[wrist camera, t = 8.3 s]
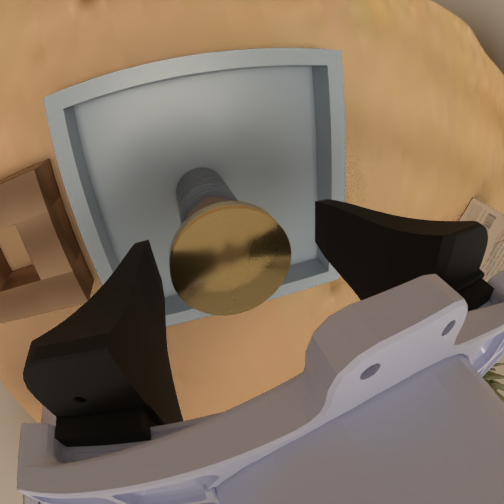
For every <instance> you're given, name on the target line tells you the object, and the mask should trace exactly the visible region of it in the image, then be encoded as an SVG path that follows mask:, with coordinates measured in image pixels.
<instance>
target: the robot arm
mask: <svg viewBox="0 0 504 504" xmlns="http://www.w3.org/2000/svg"><path fill="white" fill-rule="evenodd" d="M315 243H316V244H317V246H318V247H319V249H320V251H321V252H322V254H323V255H324V257H325V258H326V259H327V260H328V262H329V263H330V264H331V265H332V266H333V267H334V269H335V270H336V271H337V272H338V273H339V274H340V275H341V276H342V278H343V279H344V280H345V281H346V282H347V283H348V284H349V286H350V287H351V288H352V289H353V290H354V292H355V293H356V294H357V295H358V297H359V298H360V300H361V301H359V302H356V303H353V304H351V305H348V306H346V307H344V308H343V309H341V310H339V311H337V312H336V313H334V314H332V315H330V316H329V317H328V318H327V319H326V320H325V321H324V322H323V323H322V324H321V325H320V326H319V327H318V328H317V329H316V330H315V331H314V333H313V335H312V337H311V340H310V342H309V345H308V347H307V350H306V354H305V368H304V371H303V372H302V373H300V374H298V375H297V376H295V377H293V378H291V379H289V380H288V381H286V382H284V383H282V384H280V385H278V386H276V387H274V388H272V389H271V390H269V391H267V392H265V393H263V394H261V395H259V396H257V397H255V398H253V399H251V400H248V401H246V402H244V403H242V404H240V405H238V406H236V407H234V408H231V409H229V410H227V411H225V412H221V413H217V414H213V415H209V416H205V417H200V418H196V419H191V420H186V421H183V418H182V415H181V411H180V407H179V403H178V399H177V395H176V391H175V387H174V382H173V378H172V373H171V368H170V363H169V357H168V351H167V341H166V315H165V297H164V290H163V284H162V279H161V276H160V273H159V270H158V267H157V264H156V261H155V258H154V255H153V252H152V248H151V245H150V242H149V240H145V241H141V242H137V243H134V245H133V246H132V247H131V248H130V250H129V251H128V253H127V254H126V256H125V257H124V258H123V260H122V261H121V263H120V264H119V265H118V267H117V268H116V269H115V271H114V272H113V273H112V274H111V276H110V277H109V278H108V280H107V281H106V282H105V283H104V285H103V286H102V287H101V288H100V289H99V290H98V291H97V292H96V293H95V294H94V295H93V296H92V297H91V298H90V299H89V300H88V301H87V302H86V303H85V304H84V305H83V306H81V307H80V308H79V309H78V310H77V311H76V312H75V313H74V314H72V315H71V316H70V317H68V318H67V319H66V320H64V321H63V322H62V323H60V324H59V325H58V326H56V327H55V328H53V329H52V330H50V331H48V332H47V333H45V334H43V335H42V336H40V337H38V338H37V339H35V340H33V341H32V342H31V346H30V349H29V352H28V356H27V360H26V363H25V367H24V371H23V379H24V382H25V384H26V386H27V388H28V389H29V391H30V392H31V393H32V394H33V395H34V397H35V398H36V399H37V400H39V401H40V402H41V403H42V404H43V411H42V419H41V423H23V424H22V425H21V432H20V441H19V452H18V468H17V490H18V491H19V492H20V493H22V494H23V504H504V403H503V402H502V400H501V399H500V398H499V397H498V395H497V394H496V393H495V392H494V390H493V389H492V388H491V387H490V386H489V384H488V383H487V382H486V381H485V380H484V378H483V376H484V375H485V374H486V373H487V372H488V371H489V370H490V369H491V367H492V366H493V365H494V364H495V363H496V362H497V361H498V360H499V359H500V358H501V357H502V356H503V355H504V271H503V270H501V271H499V272H498V273H497V274H495V275H494V276H492V277H491V278H490V279H489V281H488V282H486V281H485V280H484V279H482V278H483V277H484V275H485V274H484V272H483V271H481V270H480V266H481V263H482V260H483V257H484V254H485V251H486V247H487V243H488V232H487V229H486V227H485V226H483V225H482V224H480V223H479V222H477V221H429V220H420V219H412V218H406V217H400V216H395V215H390V214H386V213H382V212H378V211H374V210H370V209H367V208H363V207H360V206H356V205H352V204H349V203H345V202H341V201H337V200H331V199H325V200H320V201H315Z"/></svg>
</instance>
